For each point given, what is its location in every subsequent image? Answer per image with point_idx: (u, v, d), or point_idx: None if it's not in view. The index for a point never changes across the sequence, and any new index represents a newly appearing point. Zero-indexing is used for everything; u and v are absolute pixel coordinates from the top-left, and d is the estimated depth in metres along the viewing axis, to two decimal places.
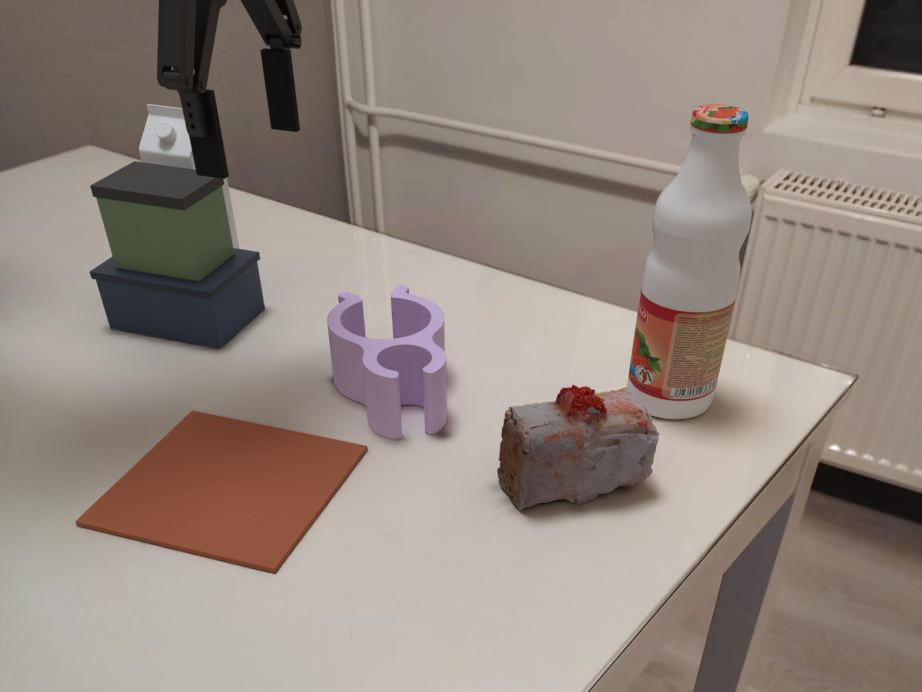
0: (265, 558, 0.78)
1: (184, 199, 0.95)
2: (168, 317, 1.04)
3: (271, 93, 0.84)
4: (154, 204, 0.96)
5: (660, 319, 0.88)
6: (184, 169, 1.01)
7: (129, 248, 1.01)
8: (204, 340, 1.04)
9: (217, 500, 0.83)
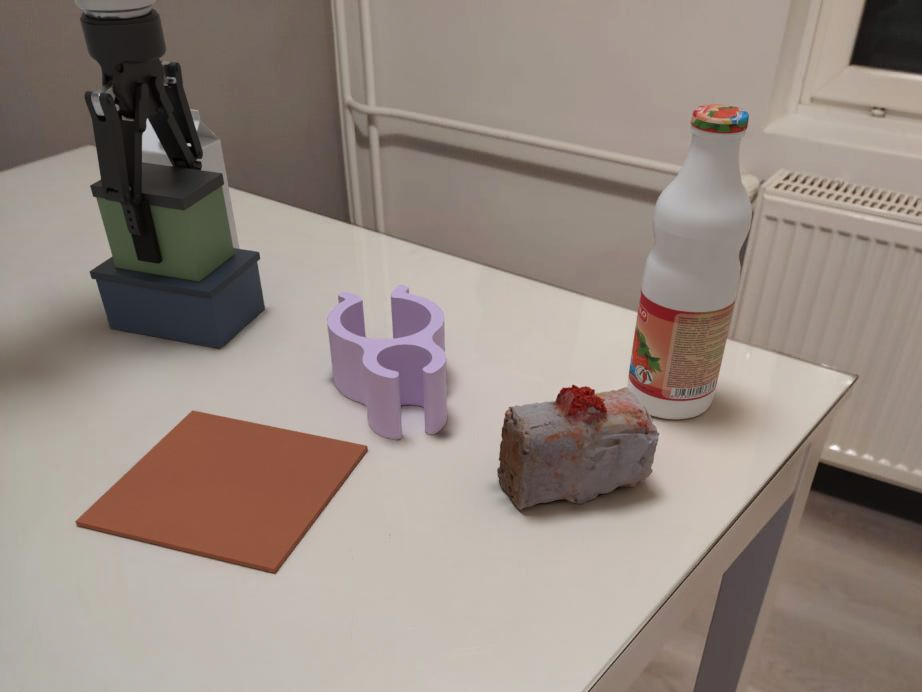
0: (265, 558, 0.78)
1: (184, 199, 0.95)
2: (168, 317, 1.04)
3: None
4: (154, 204, 0.96)
5: (660, 319, 0.88)
6: (184, 169, 1.01)
7: (129, 248, 1.01)
8: (204, 340, 1.04)
9: (217, 500, 0.83)
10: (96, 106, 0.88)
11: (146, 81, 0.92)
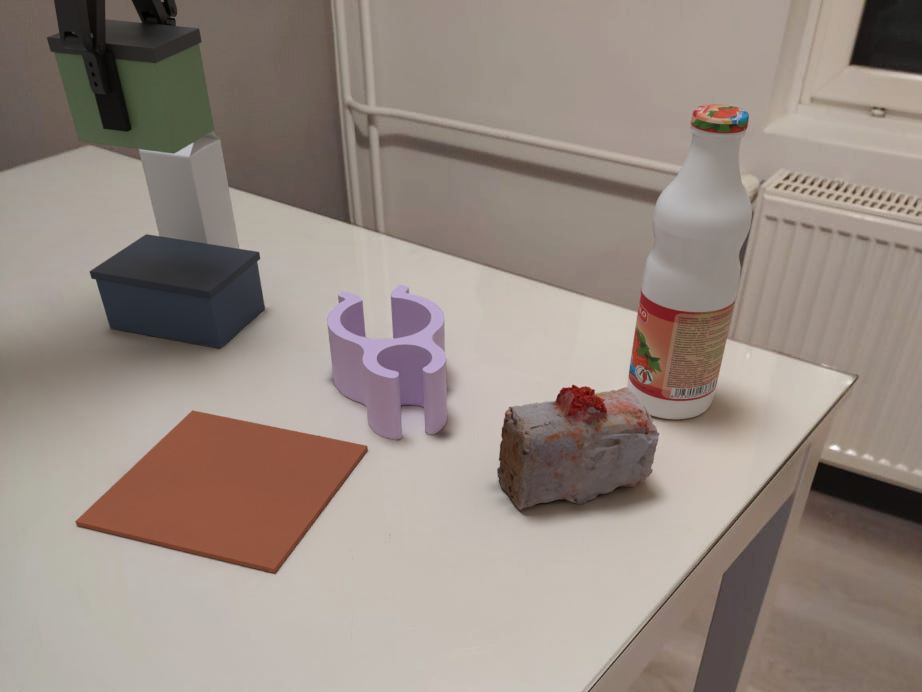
0: (265, 558, 0.78)
1: (154, 49, 0.82)
2: (168, 317, 1.04)
3: None
4: (120, 57, 0.84)
5: (660, 319, 0.88)
6: (155, 25, 0.88)
7: (93, 116, 0.89)
8: (204, 339, 1.04)
9: (217, 500, 0.83)
10: None
11: None
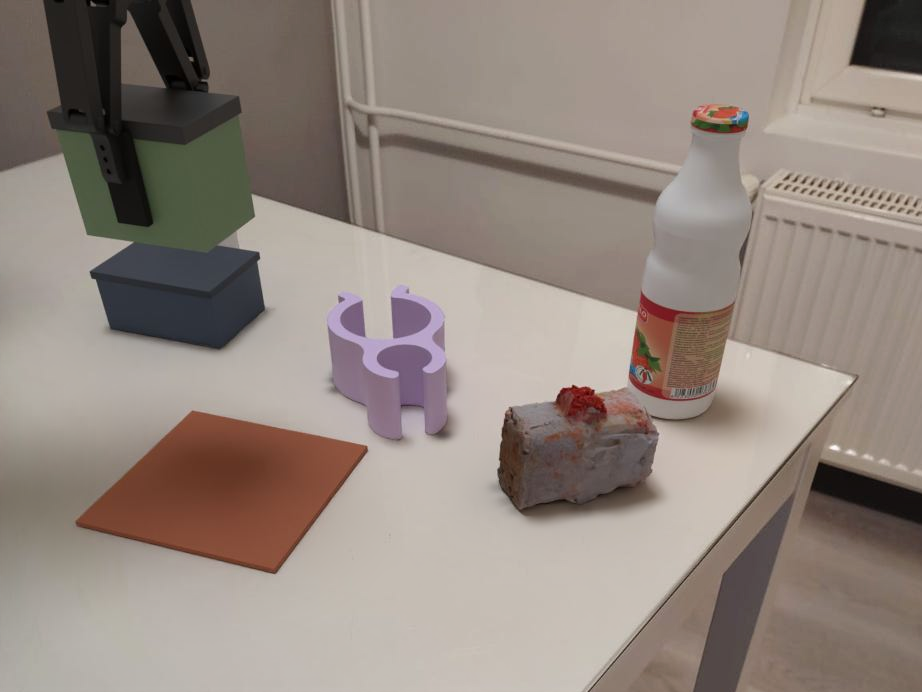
0: (265, 558, 0.78)
1: (184, 128, 0.64)
2: (168, 317, 1.04)
3: None
4: (141, 137, 0.65)
5: (660, 319, 0.88)
6: (184, 91, 0.70)
7: (105, 206, 0.70)
8: (204, 339, 1.04)
9: (217, 500, 0.83)
10: None
11: None
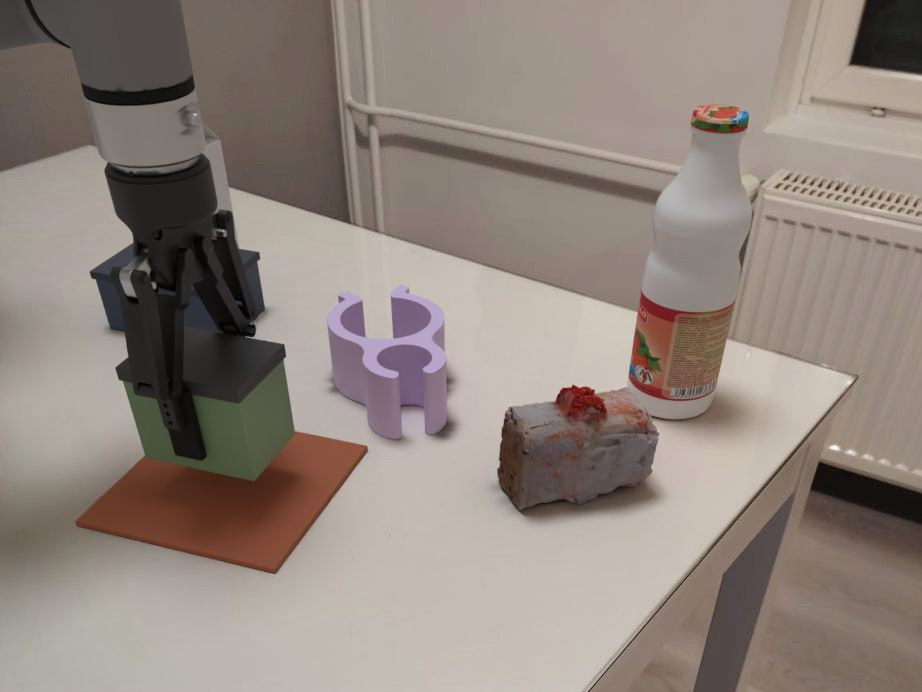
0: (265, 558, 0.78)
1: (238, 390, 0.72)
2: None
3: None
4: (199, 394, 0.74)
5: (660, 319, 0.88)
6: (235, 338, 0.78)
7: (164, 439, 0.79)
8: None
9: (217, 500, 0.83)
10: (126, 286, 0.65)
11: (190, 243, 0.69)
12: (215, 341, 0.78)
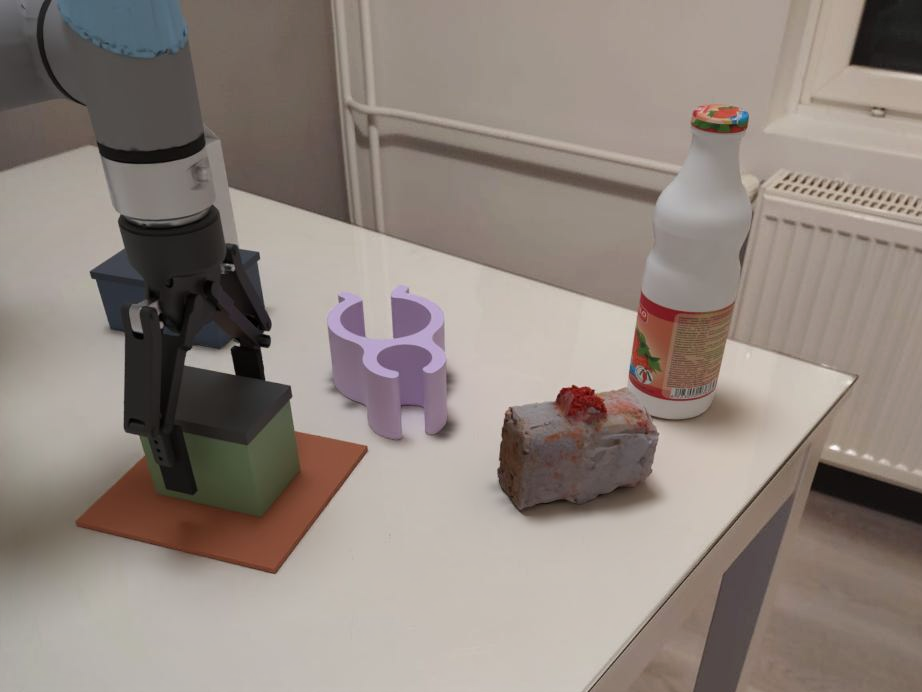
0: (265, 558, 0.78)
1: (247, 433, 0.75)
2: None
3: None
4: (209, 435, 0.76)
5: (660, 319, 0.88)
6: (243, 379, 0.81)
7: None
8: (204, 339, 1.04)
9: None
10: (134, 321, 0.67)
11: (200, 291, 0.72)
12: (224, 382, 0.81)
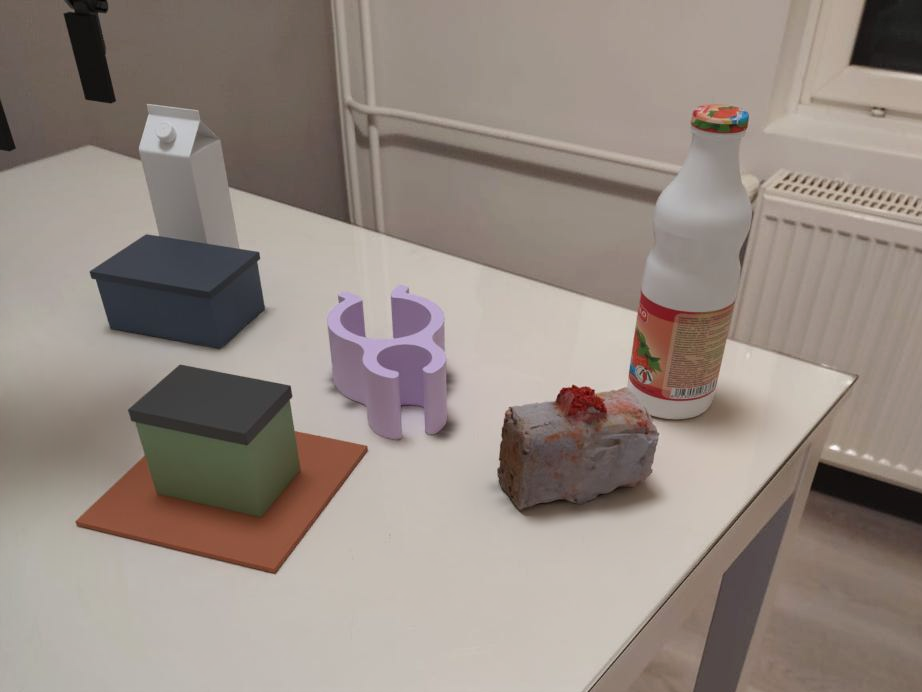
0: (265, 558, 0.78)
1: (247, 433, 0.75)
2: (168, 317, 1.04)
3: (80, 61, 0.78)
4: (209, 435, 0.76)
5: (660, 319, 0.88)
6: (243, 379, 0.81)
7: (174, 476, 0.81)
8: (204, 339, 1.04)
9: None
10: None
11: None
12: (224, 382, 0.81)
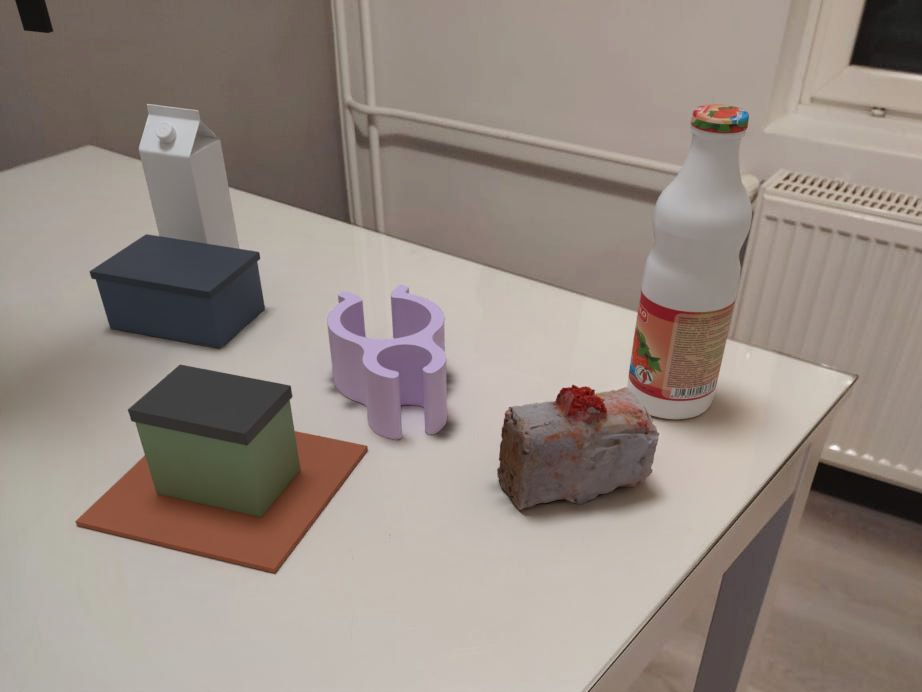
0: (265, 558, 0.78)
1: (247, 433, 0.75)
2: (168, 317, 1.04)
3: None
4: (209, 435, 0.76)
5: (660, 319, 0.88)
6: (243, 379, 0.81)
7: (174, 476, 0.81)
8: (204, 339, 1.04)
9: None
10: None
11: None
12: (224, 382, 0.81)
